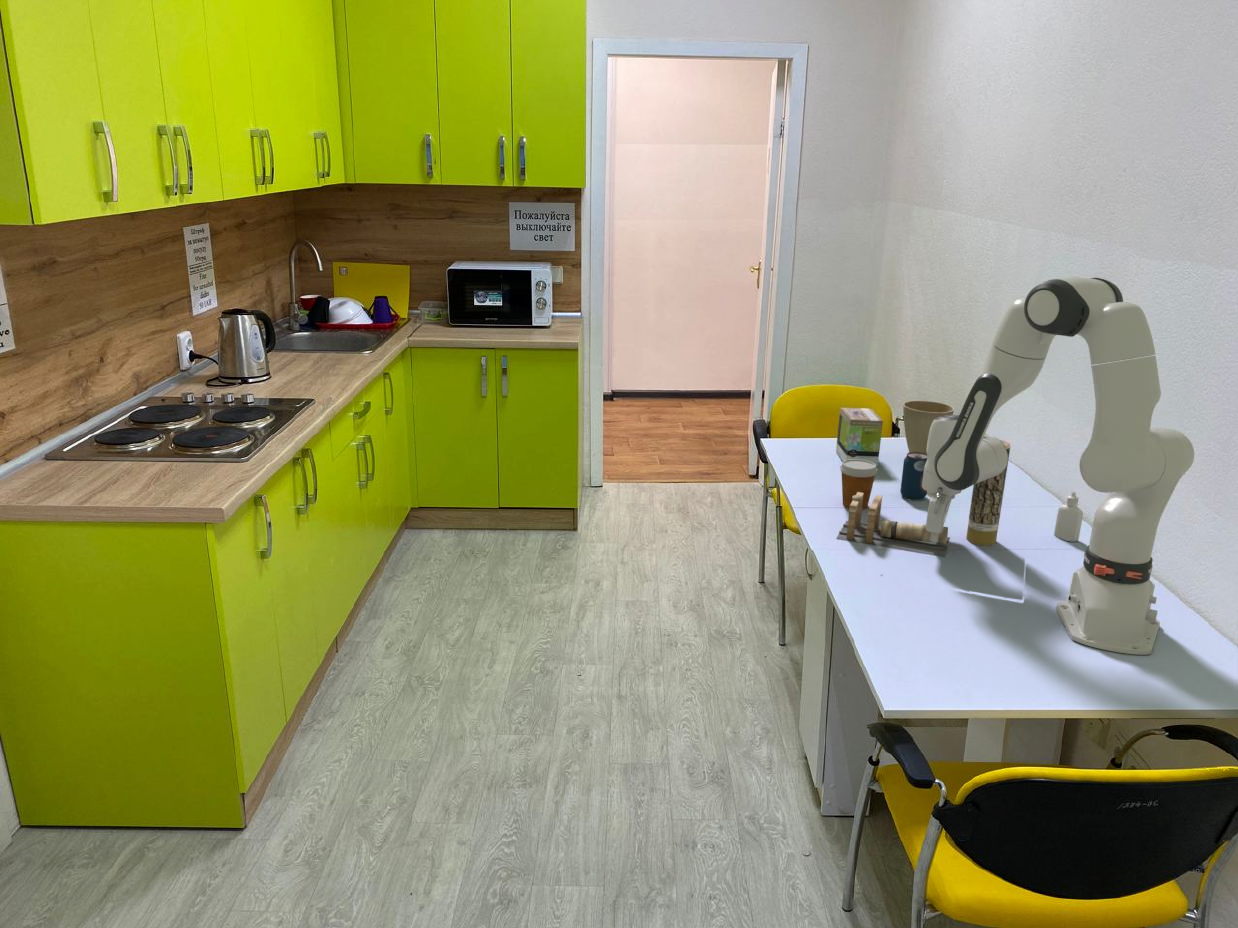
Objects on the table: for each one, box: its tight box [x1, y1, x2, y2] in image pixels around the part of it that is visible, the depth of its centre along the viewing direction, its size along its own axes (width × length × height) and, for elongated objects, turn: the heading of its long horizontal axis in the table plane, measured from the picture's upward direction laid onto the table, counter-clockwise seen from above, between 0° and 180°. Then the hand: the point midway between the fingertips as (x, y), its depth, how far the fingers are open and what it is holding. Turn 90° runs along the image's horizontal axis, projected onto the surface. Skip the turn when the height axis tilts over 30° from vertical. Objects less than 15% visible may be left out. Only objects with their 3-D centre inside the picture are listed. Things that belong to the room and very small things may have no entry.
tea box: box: [835, 407, 884, 468], centre depth 289 cm, size 15×10×15 cm, turn 179°
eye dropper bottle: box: [1053, 491, 1084, 543], centre depth 232 cm, size 4×6×12 cm
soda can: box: [899, 452, 928, 501], centre depth 258 cm, size 7×7×12 cm
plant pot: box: [902, 400, 955, 454], centre depth 293 cm, size 15×15×16 cm
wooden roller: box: [880, 519, 949, 544], centre depth 228 cm, size 15×4×4 cm, turn 67°
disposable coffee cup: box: [839, 459, 878, 510], centre depth 250 cm, size 10×10×12 cm
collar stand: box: [835, 492, 951, 558], centre depth 229 cm, size 13×25×10 cm, turn 67°
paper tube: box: [965, 439, 1011, 547], centre depth 227 cm, size 7×7×25 cm
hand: (935, 537), depth 226 cm, fingers closed on wooden roller, 4 cm apart
